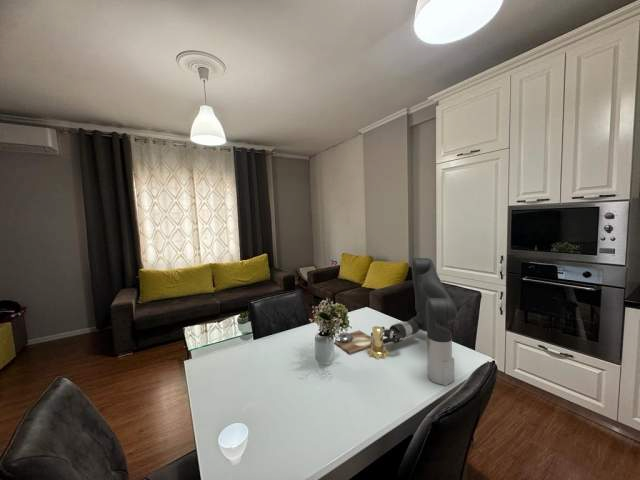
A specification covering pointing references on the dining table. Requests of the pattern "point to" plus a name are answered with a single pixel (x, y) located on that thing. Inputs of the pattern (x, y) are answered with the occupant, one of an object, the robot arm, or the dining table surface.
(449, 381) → the robot arm
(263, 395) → the dining table surface
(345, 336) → the gear
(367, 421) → the dining table surface
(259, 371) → the dining table surface
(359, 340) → the gear board
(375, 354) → the cylinder
